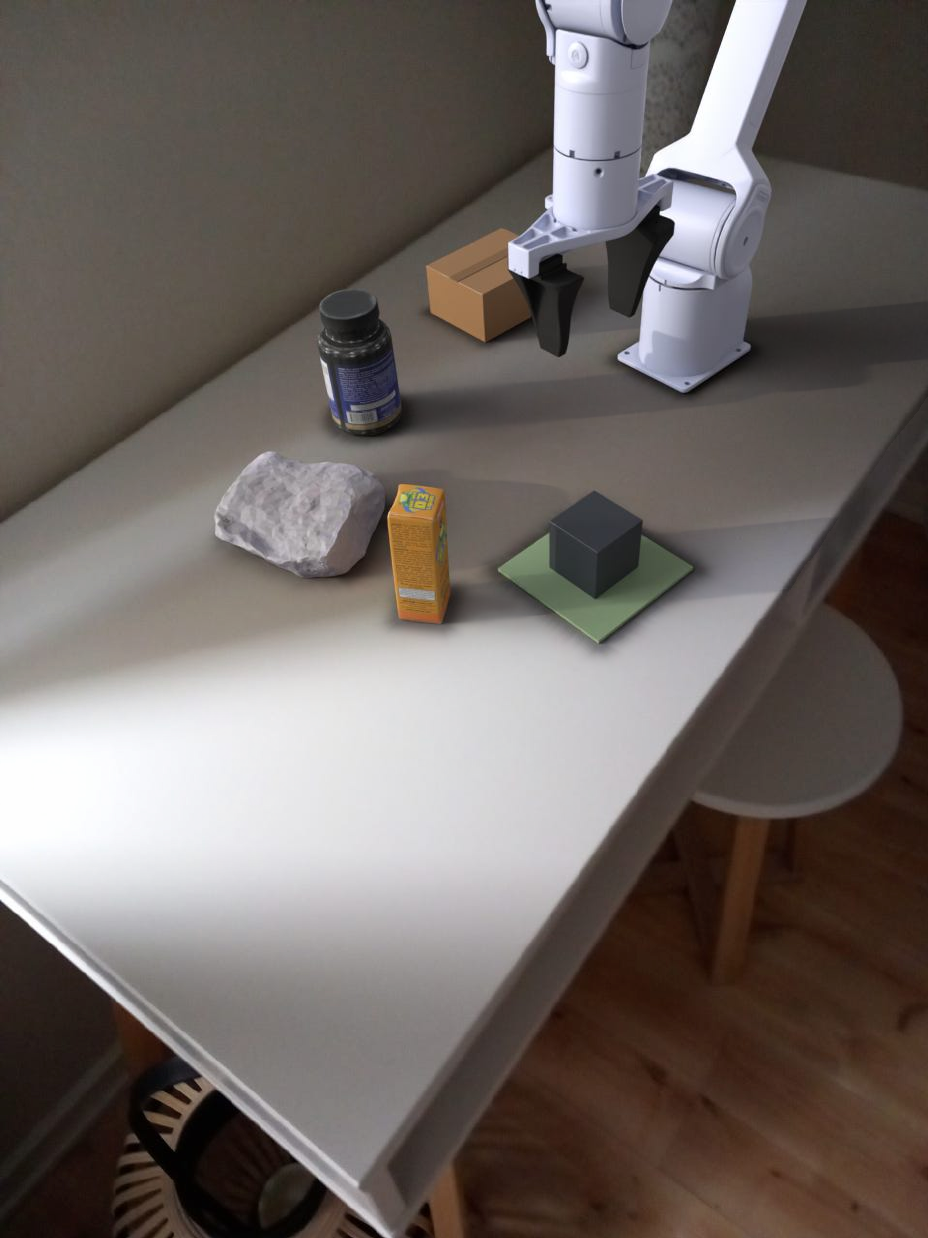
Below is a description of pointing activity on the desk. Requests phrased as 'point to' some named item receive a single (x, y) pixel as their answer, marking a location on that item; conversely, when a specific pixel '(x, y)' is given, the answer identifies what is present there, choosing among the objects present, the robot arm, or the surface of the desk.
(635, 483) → the desk surface
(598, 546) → the small box
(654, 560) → the mat
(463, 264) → the storage box
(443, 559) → the supplement box
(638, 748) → the desk surface
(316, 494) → the stone block
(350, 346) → the pill bottle
